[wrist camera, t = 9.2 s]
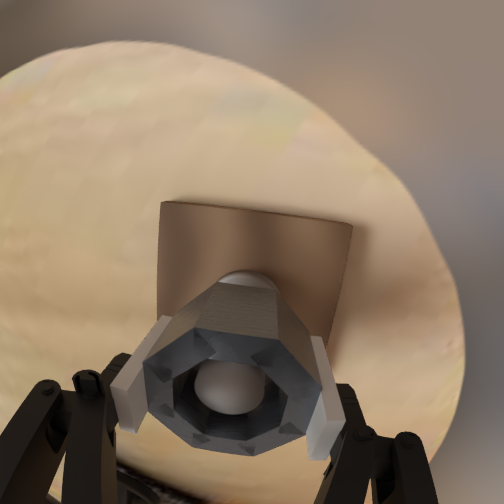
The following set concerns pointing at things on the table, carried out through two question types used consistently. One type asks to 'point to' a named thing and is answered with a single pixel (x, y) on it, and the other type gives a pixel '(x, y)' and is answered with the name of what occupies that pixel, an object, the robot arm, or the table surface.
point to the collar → (236, 351)
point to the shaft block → (248, 277)
